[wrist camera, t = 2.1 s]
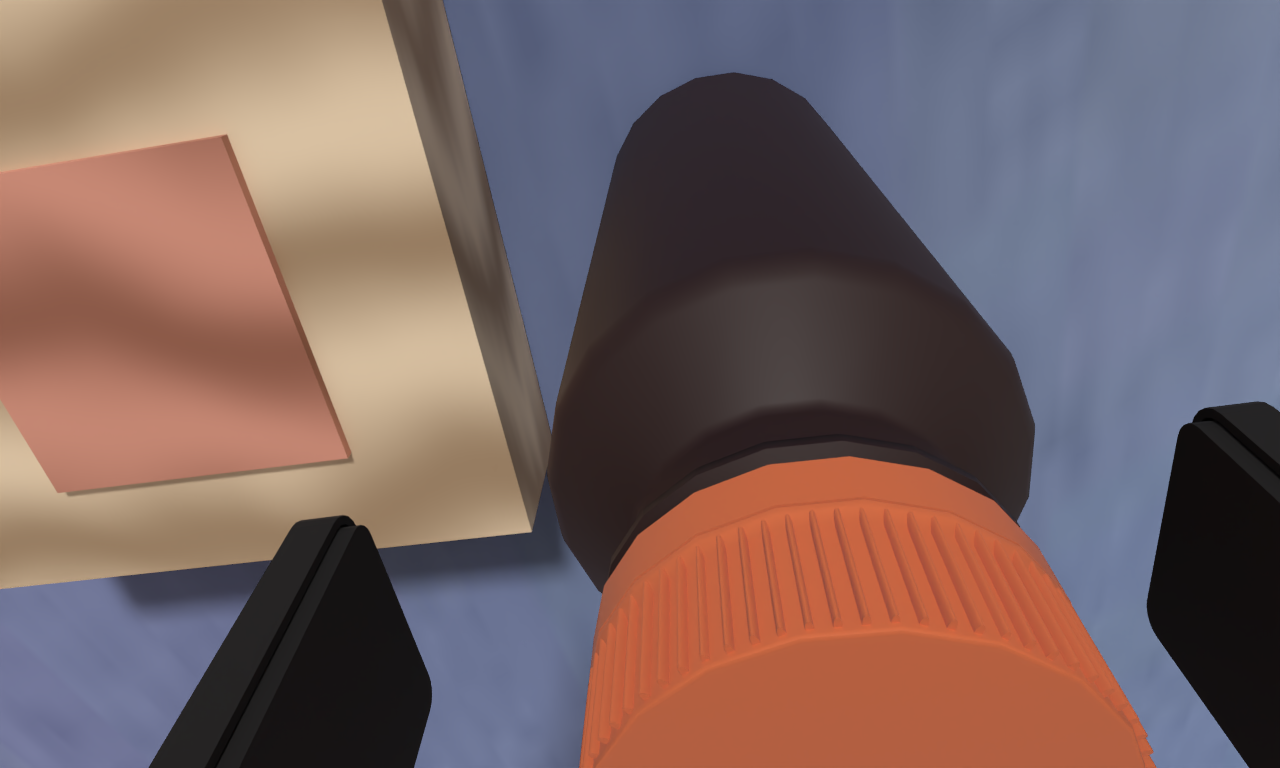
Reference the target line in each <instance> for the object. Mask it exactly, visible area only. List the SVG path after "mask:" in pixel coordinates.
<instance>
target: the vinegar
mask: <svg viewBox="0 0 1280 768" xmlns="http://www.w3.org/2000/svg"><path fill="white" fill-rule="evenodd" d="M1034 435H1035V423H1034V420H1033V417H1032V414H1031V411H1030V408H1029V405H1028V401H1027V398H1026V395H1025V392H1024V389H1023V386H1022V383H1021V380H1020V376H1019V373H1018V370H1017V367H1016V364H1015V361H1014V359H1013V357H1012V355H1011V353H1010V351H1009V350H1008V349H1007V348H1006V346H1005V345H1004V344H1003V343H1002V341H1001V340H1000V339H999V338H998V336H997V335H996V334H995V333H994V331H993V330H992V329H991V328H990V326H989V325H988V324H987V323H986V321H985V320H984V319H983V318H982V316H981V315H980V314H979V313H978V311H977V310H976V309H975V308H974V306H973V305H972V304H971V303H970V302H969V300H968V299H967V298H966V297H965V295H964V294H963V293H962V292H961V290H960V289H959V288H958V287H957V285H956V284H955V283H954V282H953V280H952V279H951V278H950V277H949V275H948V274H947V273H946V272H945V270H944V269H943V268H942V267H941V265H940V264H939V263H938V262H937V260H936V259H935V258H934V257H933V255H932V254H931V253H930V252H929V250H928V249H927V248H926V247H925V245H924V244H923V243H922V242H921V241H920V239H919V238H918V237H917V236H916V234H915V233H914V232H913V231H912V229H911V228H910V227H909V226H908V224H907V223H906V222H905V221H904V219H903V218H902V217H901V216H900V214H899V213H898V212H897V211H896V209H895V208H894V207H893V206H892V204H891V203H890V202H889V201H888V199H887V198H886V197H885V196H884V194H883V193H882V192H881V191H880V189H879V188H878V187H877V186H876V184H875V183H874V182H873V181H872V180H871V178H870V177H869V176H868V175H867V173H866V172H865V171H864V170H863V168H862V167H861V166H860V165H859V163H858V162H857V161H856V160H855V158H854V157H853V156H852V155H851V153H850V152H849V151H848V150H847V148H846V147H845V146H844V145H843V143H842V142H841V141H840V140H839V138H838V137H837V136H836V135H835V133H834V132H833V131H832V130H831V128H830V127H829V126H828V125H827V124H826V122H825V121H824V120H823V119H822V118H821V117H820V115H819V114H818V113H817V112H816V111H815V110H814V108H813V107H812V106H811V105H810V104H809V102H808V101H807V100H806V99H805V98H804V97H802V96H800V95H798V94H797V93H795V92H793V91H791V90H790V89H788V88H786V87H784V86H783V85H781V84H779V83H777V82H776V81H774V80H772V79H767V78H762V77H756V76H751V75H745V74H740V73H727V74H721V75H714V76H707V77H701V78H695V79H693V80H691V81H689V82H687V83H685V84H683V85H681V86H679V87H678V88H676V89H674V90H672V91H670V92H668V93H666V94H664V95H662V96H660V97H659V98H658V99H657V100H656V101H655V102H654V103H653V104H652V105H651V106H650V107H649V108H648V109H647V110H646V111H645V112H644V113H643V114H642V115H641V116H640V118H639V119H638V120H637V121H636V122H635V123H634V124H633V126H632V128H631V130H630V132H629V134H628V136H627V138H626V140H625V142H624V143H623V145H622V147H621V149H620V151H619V153H618V155H617V158H616V162H615V166H614V170H613V174H612V178H611V182H610V186H609V190H608V194H607V199H606V203H605V207H604V211H603V215H602V219H601V223H600V227H599V231H598V235H597V239H596V243H595V247H594V251H593V256H592V260H591V264H590V268H589V272H588V276H587V280H586V284H585V288H584V292H583V296H582V300H581V304H580V308H579V312H578V317H577V321H576V325H575V329H574V333H573V337H572V341H571V345H570V349H569V353H568V357H567V361H566V365H565V369H564V374H563V378H562V382H561V386H560V390H559V394H558V398H557V402H556V407H555V415H554V422H553V430H552V437H551V444H550V452H549V459H548V466H547V477H548V481H549V485H550V489H551V493H552V497H553V501H554V505H555V509H556V513H557V517H558V521H559V525H560V529H561V533H562V536H563V538H564V541H565V542H566V544H567V545H568V547H569V548H570V550H571V551H572V553H573V554H574V556H575V557H576V559H577V560H578V561H579V563H580V564H581V566H582V567H583V569H584V570H585V572H586V573H587V575H588V576H589V578H590V579H591V581H592V582H593V583H594V585H595V586H596V588H597V589H598V591H600V592H601V593H602V599H601V604H600V609H599V614H598V620H597V625H596V630H595V635H594V642H593V651H592V660H591V669H590V678H589V684H588V693H587V702H586V711H585V720H584V729H583V738H582V747H581V756H580V765H579V768H1156V766H1155V764H1154V762H1153V761H1152V759H1151V757H1150V754H1152V753H1153V750H1152V748H1151V746H1150V745H1149V743H1148V741H1147V740H1146V737H1147V736H1148V735H1147V733H1146V732H1145V730H1144V728H1143V726H1142V725H1141V723H1140V721H1139V718H1138V716H1137V715H1136V713H1135V711H1134V710H1133V708H1132V706H1131V705H1130V703H1129V701H1128V699H1127V698H1126V696H1125V694H1124V693H1123V691H1122V689H1121V688H1120V686H1119V684H1118V683H1117V681H1116V679H1115V678H1114V676H1113V674H1112V672H1111V671H1110V669H1109V667H1108V666H1107V664H1106V662H1105V661H1104V659H1103V657H1102V656H1101V654H1100V652H1099V651H1098V649H1097V647H1096V645H1095V644H1094V642H1093V640H1092V639H1091V637H1090V635H1089V634H1088V632H1087V630H1086V629H1085V627H1084V625H1083V624H1082V622H1081V620H1080V618H1079V617H1078V615H1077V613H1076V612H1075V610H1074V608H1073V607H1072V605H1071V602H1070V600H1069V598H1068V597H1067V595H1066V594H1065V592H1064V590H1063V588H1062V586H1061V585H1060V583H1059V581H1058V580H1057V578H1056V576H1055V575H1054V573H1053V571H1052V570H1051V568H1050V566H1049V565H1048V563H1047V561H1046V560H1045V558H1044V556H1043V555H1042V553H1041V551H1040V549H1039V548H1038V546H1037V545H1036V544H1035V543H1034V542H1033V541H1032V540H1031V539H1030V538H1029V537H1028V536H1027V535H1026V534H1025V533H1024V532H1023V530H1022V529H1021V528H1020V526H1019V524H1018V523H1017V520H1018V518H1019V516H1020V514H1021V512H1022V510H1023V508H1024V506H1025V504H1026V501H1027V499H1028V497H1029V489H1030V479H1031V468H1032V457H1033V446H1034Z"/></svg>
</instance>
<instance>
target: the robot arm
mask: <svg viewBox="0 0 1280 768" xmlns="http://www.w3.org/2000/svg"><path fill="white" fill-rule="evenodd" d="M1147 613H1148V617H1149V621H1150V624H1151V626H1152V629H1153V631H1154V633H1155V634H1156V636H1157V638H1158V639H1159V640H1160V642H1161V643H1162V645H1163V646H1164V648H1165V649H1166V650H1167V652H1168V653H1169V655H1170V656H1171V658H1172V659H1173V660H1174V662H1175V663H1176V665H1177V666H1178V667H1179V669H1180V670H1181V672H1182V673H1183V675H1184V676H1185V677H1186V679H1187V680H1188V682H1189V683H1190V684H1191V686H1192V687H1193V689H1194V690H1195V692H1196V693H1197V694H1198V696H1199V697H1200V699H1201V700H1202V701H1203V703H1204V704H1205V706H1206V707H1207V709H1208V710H1209V711H1210V713H1211V714H1212V716H1213V717H1214V718H1215V720H1216V721H1217V723H1218V724H1219V726H1220V727H1221V728H1222V730H1223V731H1224V733H1225V734H1226V736H1227V737H1228V738H1229V740H1230V741H1231V743H1232V744H1233V745H1234V747H1235V748H1236V750H1237V751H1238V753H1239V754H1240V755H1241V757H1242V758H1243V760H1244V761H1245V762H1246V764H1247V765H1248V767H1249V768H1280V412H1279V411H1278V410H1277V409H1275V408H1274V407H1272V406H1271V405H1269V404H1267V403H1265V402H1249V403H1241V404H1233V405H1225V406H1217V407H1209V408H1204V409H1202V410H1200V411H1198V413H1197V414H1196V415H1195V417H1194V419H1193V422H1192V423H1188V424H1185V425H1183V427H1182V428H1181V429H1180V431H1179V434H1178V438H1177V443H1176V449H1175V454H1174V459H1173V465H1172V470H1171V475H1170V481H1169V486H1168V491H1167V497H1166V502H1165V507H1164V513H1163V518H1162V523H1161V529H1160V534H1159V539H1158V545H1157V550H1156V555H1155V561H1154V566H1153V572H1152V577H1151V582H1150V588H1149V593H1148V598H1147ZM431 702H432V687H431V681H430V677H429V674H428V672H427V670H426V667H425V665H424V662H423V660H422V657H421V655H420V652H419V650H418V648H417V645H416V643H415V640H414V638H413V635H412V633H411V631H410V628H409V626H408V623H407V621H406V618H405V616H404V613H403V611H402V609H401V606H400V604H399V601H398V599H397V596H396V594H395V591H394V589H393V587H392V584H391V582H390V579H389V577H388V574H387V572H386V570H385V567H384V565H383V562H382V560H381V557H380V555H379V552H378V550H377V548H376V545H375V543H374V540H373V538H372V535H371V533H370V531H369V530H368V528H367V527H365V526H364V525H357V526H356V525H355V523H354V521H353V520H352V519H351V518H350V517H349V516H346V515H339V516H331V517H323V518H315V519H307V520H301V521H298V522H296V523H295V524H294V525H293V526H292V528H291V529H290V531H289V532H288V534H287V536H286V537H285V539H284V541H283V542H282V544H281V546H280V548H279V549H278V551H277V553H276V554H275V556H274V558H273V559H272V561H271V563H270V564H269V566H268V568H267V569H266V571H265V573H264V574H263V576H262V578H261V579H260V581H259V583H258V585H257V586H256V588H255V590H254V591H253V593H252V595H251V596H250V598H249V600H248V601H247V603H246V605H245V606H244V608H243V610H242V611H241V613H240V615H239V616H238V618H237V620H236V622H235V623H234V625H233V627H232V628H231V630H230V632H229V633H228V635H227V637H226V638H225V640H224V642H223V643H222V645H221V647H220V648H219V650H218V652H217V653H216V655H215V657H214V659H213V660H212V662H211V664H210V665H209V667H208V669H207V670H206V672H205V674H204V675H203V677H202V679H201V680H200V682H199V684H198V685H197V687H196V689H195V690H194V692H193V694H192V696H191V697H190V699H189V701H188V702H187V704H186V706H185V707H184V709H183V711H182V712H181V714H180V716H179V717H178V719H177V721H176V722H175V724H174V726H173V727H172V729H171V731H170V732H169V734H168V736H167V738H166V739H165V741H164V743H163V744H162V746H161V748H160V749H159V751H158V753H157V754H156V756H155V758H154V759H153V761H152V763H151V764H150V766H149V768H414V765H415V762H416V758H417V755H418V751H419V748H420V744H421V740H422V737H423V733H424V730H425V726H426V723H427V719H428V716H429V712H430V708H431Z"/></svg>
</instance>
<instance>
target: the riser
mask: <svg viewBox="0 0 1280 768" xmlns="http://www.w3.org/2000/svg"><path fill="white" fill-rule="evenodd" d="M551 437H552V436H551V432H550V428H549V424H548V420H547V416H546V412H545V408H544V404H543V400H542V396H541V392H540V388H539V384H538V380H537V376H536V372H535V368H534V364H533V360H532V356H531V352H530V348H529V344H528V340H527V336H526V332H525V328H524V324H523V320H522V316H521V312H520V308H519V304H518V300H517V296H516V292H515V288H514V284H513V280H512V276H511V272H510V268H509V264H508V260H507V256H506V252H505V248H504V244H503V240H502V236H501V232H500V228H499V224H498V220H497V216H496V212H495V208H494V204H493V200H492V196H491V192H490V188H489V184H488V180H487V176H486V172H485V168H484V164H483V160H482V156H481V152H480V148H479V144H478V140H477V136H476V132H475V128H474V124H473V120H472V116H471V112H470V108H469V104H468V100H467V96H466V92H465V88H464V84H463V80H462V76H461V72H460V68H459V64H458V60H457V56H456V52H455V48H454V44H453V40H452V36H451V32H450V28H449V24H448V20H447V16H446V12H445V8H444V4H443V0H0V589H4V588H14V587H23V586H32V585H42V584H51V583H60V582H70V581H79V580H89V579H98V578H107V577H117V576H126V575H135V574H145V573H154V572H163V571H173V570H182V569H191V568H201V567H210V566H219V565H229V564H238V563H247V562H257V561H266V560H272V559H273V558H274V556H275V554H276V553H277V551H278V549H279V548H280V546H281V544H282V542H283V541H284V539H285V537H286V536H287V534H288V532H289V531H290V529H291V528H292V526H293V525H294V524H295V523H296V522H298V521H301V520H307V519H315V518H323V517H331V516H339V515H346V516H349V517H350V518H351V519H352V520H353V521H354V523H355V525H356V526H357V525H364V526H365V527H367V528H368V530H369V531H370V533H371V535H372V538H373V540H374V543H375V545H376V548H377V549H378V548H388V547H397V546H406V545H416V544H425V543H434V542H444V541H453V540H462V539H472V538H481V537H490V536H500V535H509V534H518V533H528V532H532V529H533V525H534V521H535V516H536V512H537V508H538V504H539V499H540V495H541V491H542V486H543V482H544V478H545V474H546V469H547V465H548V459H549V452H550V444H551Z"/></svg>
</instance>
